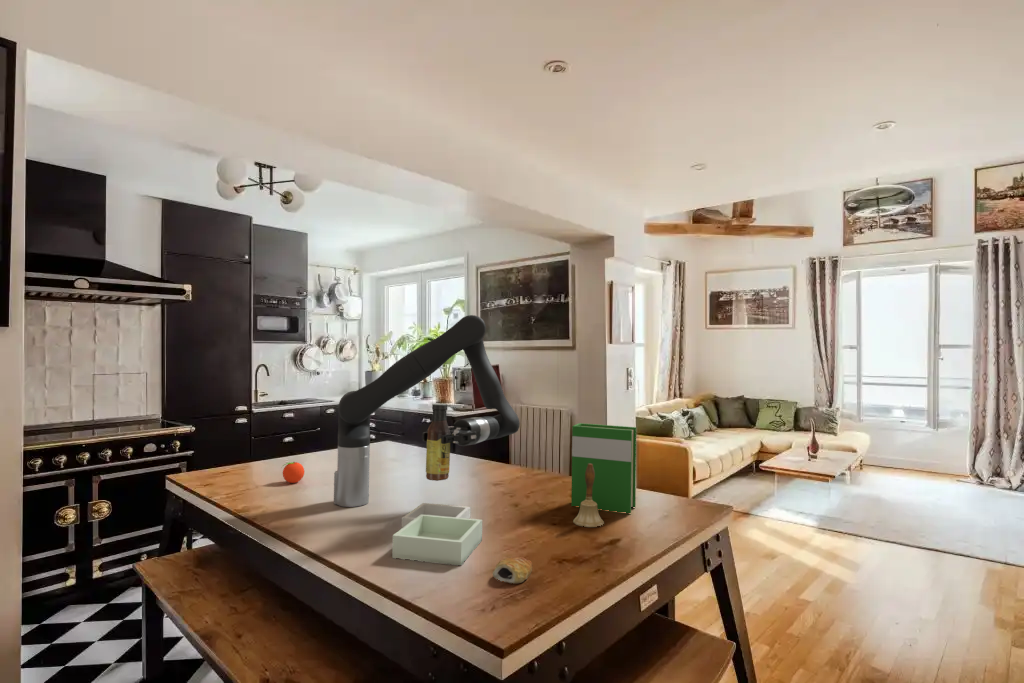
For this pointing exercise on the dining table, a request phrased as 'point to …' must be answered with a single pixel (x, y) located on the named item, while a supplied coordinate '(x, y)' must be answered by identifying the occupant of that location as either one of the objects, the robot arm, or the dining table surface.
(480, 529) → the sage bin
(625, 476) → the hardback book
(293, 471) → the clementine
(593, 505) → the hand bell
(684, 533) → the dining table surface
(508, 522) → the dining table surface
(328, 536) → the dining table surface
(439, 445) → the sauce bottle
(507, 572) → the pastry
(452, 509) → the off-white frame
